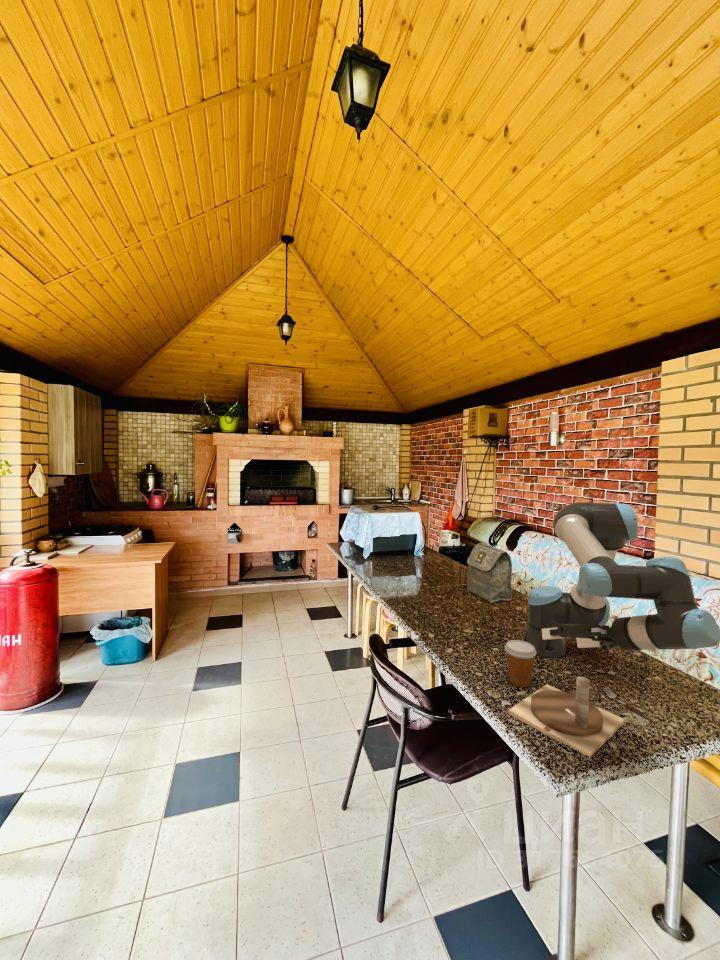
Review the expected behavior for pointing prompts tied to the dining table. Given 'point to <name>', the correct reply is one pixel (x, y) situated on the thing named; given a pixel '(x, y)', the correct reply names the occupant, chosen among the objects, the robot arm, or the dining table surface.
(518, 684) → the disposable coffee cup
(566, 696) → the dial
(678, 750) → the dining table surface
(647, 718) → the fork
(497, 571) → the bag
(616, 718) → the dial base
